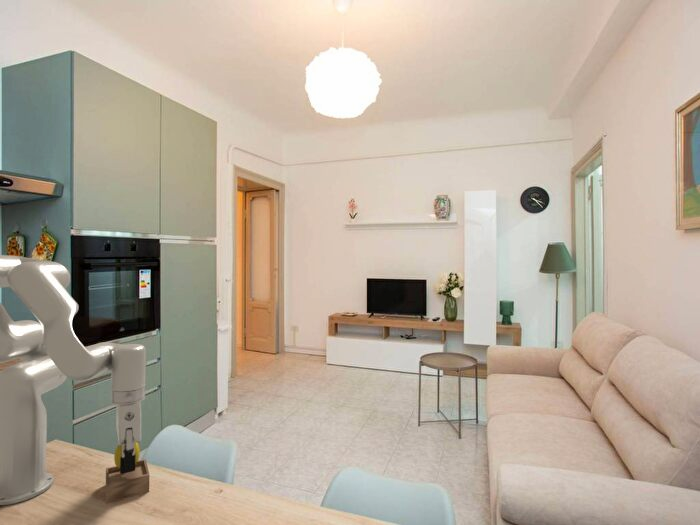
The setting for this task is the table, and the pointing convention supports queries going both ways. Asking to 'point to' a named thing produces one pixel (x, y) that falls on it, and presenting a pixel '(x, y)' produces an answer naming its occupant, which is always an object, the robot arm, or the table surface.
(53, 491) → the table surface
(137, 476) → the walnut tray
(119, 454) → the lemon
